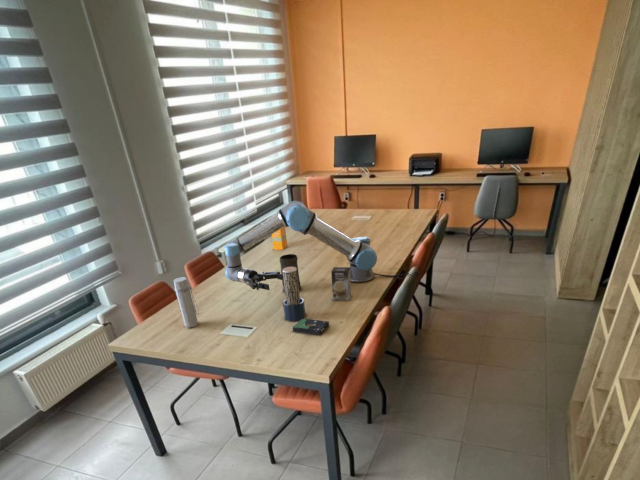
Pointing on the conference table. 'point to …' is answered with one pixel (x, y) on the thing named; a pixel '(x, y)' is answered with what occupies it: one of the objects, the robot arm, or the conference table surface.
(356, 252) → the robot arm
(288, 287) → the paper tube
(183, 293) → the water bottle
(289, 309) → the pen pot
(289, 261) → the beer stein
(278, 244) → the orange juice
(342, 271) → the coffee box
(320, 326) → the disk drive
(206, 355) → the conference table surface
